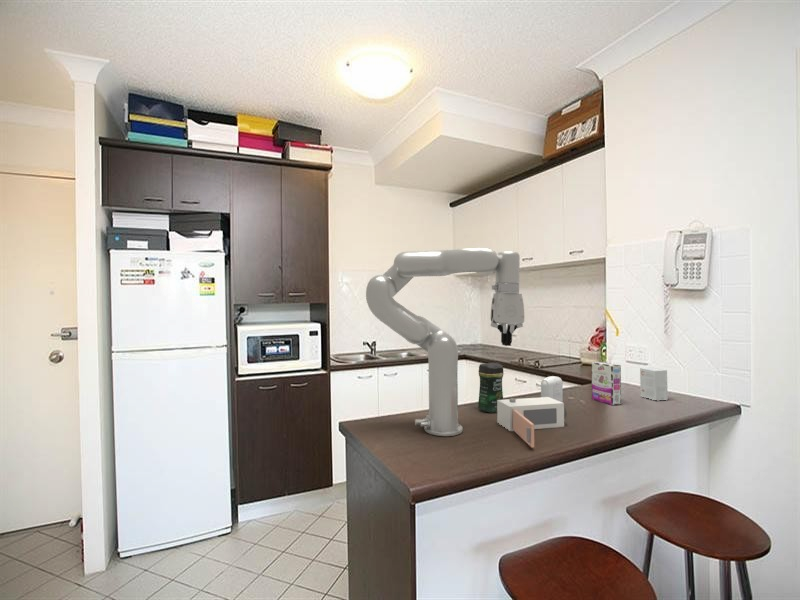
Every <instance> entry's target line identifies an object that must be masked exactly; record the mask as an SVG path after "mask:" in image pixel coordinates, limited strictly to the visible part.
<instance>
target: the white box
mask: <svg viewBox="0 0 800 600" xmlns="http://www.w3.org/2000/svg"><path fill="white" fill-rule="evenodd" d="M512 409H515V410H517V411H518V412H519V413H520V414H522V415H523V416H524V417H525V418H527V419H528V420H529V421H530V422H532V423H533V424H534V430H540V429H541V430H542V429H551V428H552V429H554V428H555V429H556V428H565V419H566V417H567V409H566V406H565V402H563V403H562V402H560V401H557V400H555V399H552V398H550V397H541V396H540V397H529V398H528V397H526V398H515V397H511V398H508V399H503V400H497V412H496V414H497V415H496V416H497V420H496V421H497V424H498V423H499V424H498V425H500V426H501V425H502V426H501V427H502V428H504V427H505V429H506V430H507V429H508V430H507V431H508V432H515V431H514V430H513V429H512Z"/></svg>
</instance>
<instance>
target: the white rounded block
mask: <svg viewBox="0 0 800 600" xmlns="http://www.w3.org/2000/svg"><path fill="white" fill-rule="evenodd" d="M563 385H564V384H563V380H562V378H561V377H559V376H554V375H552V376H551V375H550V376H547V377H545V378H544V379H542V380H541V383H540V397H550V398H552V399H555V400H557V401H560V402H562V403H564V402H563V401H564V400H563V396H564V395H563Z"/></svg>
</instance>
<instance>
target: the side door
mask: <svg viewBox="0 0 800 600" xmlns="http://www.w3.org/2000/svg"><path fill="white" fill-rule="evenodd" d="M512 429H513V430H514V431H513V432H515V433H516V434H517V435H518V436H519V437H520V438H521V439H522V440H523V441H524V442H525V443H527V444H528V446H529V447H530V448H535V429H534V424H533V423H532V422H530V421H529V420H528V419H527V418H525V417H524V416H523V415H522V414H520V413H519V412H518V411H517V410H515V409H512Z"/></svg>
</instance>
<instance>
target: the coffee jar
mask: <svg viewBox="0 0 800 600" xmlns="http://www.w3.org/2000/svg"><path fill="white" fill-rule="evenodd" d="M504 374H505V373H504V366H503V364H502V363H498V362H488V363H481V364H479V365H478V376H479V393H478V404H477V405H478V410H479V411H480V412H484V413H497V400H504V393H503V392H504V391H503V377H504Z"/></svg>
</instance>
